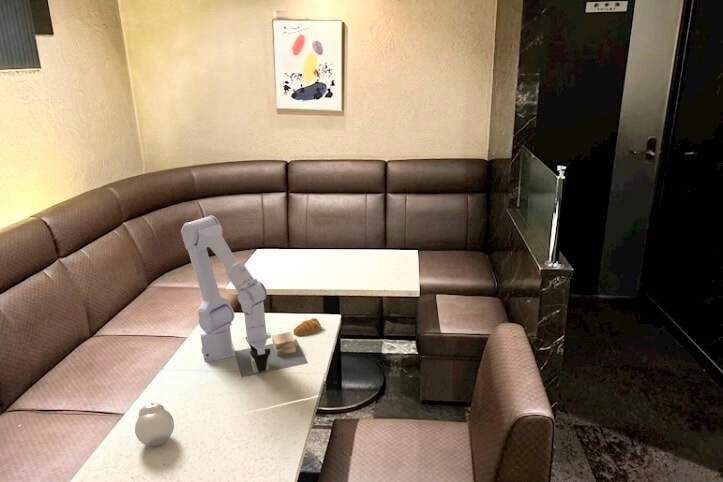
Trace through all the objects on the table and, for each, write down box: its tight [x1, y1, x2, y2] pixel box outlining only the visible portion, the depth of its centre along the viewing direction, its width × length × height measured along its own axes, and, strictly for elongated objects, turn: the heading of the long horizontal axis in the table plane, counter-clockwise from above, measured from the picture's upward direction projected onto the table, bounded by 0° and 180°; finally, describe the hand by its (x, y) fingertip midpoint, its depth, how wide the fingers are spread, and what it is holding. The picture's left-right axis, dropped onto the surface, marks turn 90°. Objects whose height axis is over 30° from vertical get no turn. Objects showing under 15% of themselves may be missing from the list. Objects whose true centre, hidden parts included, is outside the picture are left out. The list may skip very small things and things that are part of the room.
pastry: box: [293, 317, 323, 337], centre depth 182 cm, size 9×7×4 cm
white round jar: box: [134, 402, 175, 447], centre depth 130 cm, size 9×10×10 cm
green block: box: [250, 354, 269, 373], centre depth 160 cm, size 4×4×4 cm
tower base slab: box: [272, 342, 296, 356], centre depth 171 cm, size 6×6×2 cm
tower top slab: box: [271, 331, 295, 350], centre depth 170 cm, size 6×6×2 cm
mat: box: [234, 338, 309, 378], centre depth 167 cm, size 20×16×1 cm
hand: (259, 364), depth 161 cm, fingers open, 7 cm apart
